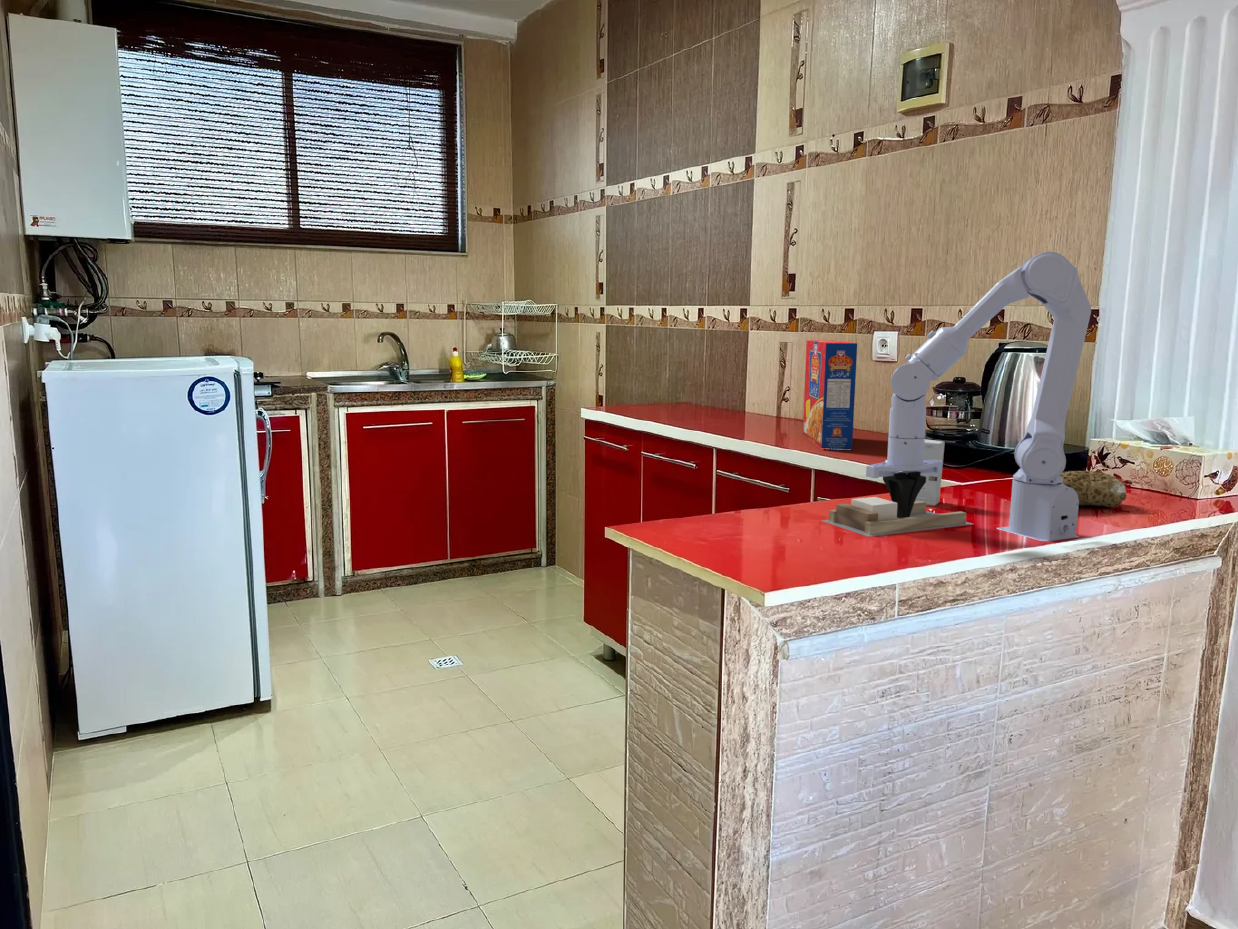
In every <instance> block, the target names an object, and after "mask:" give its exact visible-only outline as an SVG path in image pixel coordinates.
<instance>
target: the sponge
mask: <svg viewBox="0 0 1238 929" xmlns="http://www.w3.org/2000/svg"><path fill="white" fill-rule="evenodd" d="M1060 476H1061V477H1062V478H1063V484H1064V485H1065V486H1067V487H1070V488H1072V489H1074V490H1075V491H1076V492H1077V495H1078V498H1079V506H1095V507H1106V508H1113V507H1115V506H1116V507H1118V506H1120V505H1122V504H1123V501H1125V500H1126V499H1127V490H1126V485H1125V484H1124V483H1122V481H1121V480H1119V479H1118V478H1117V476H1115V475H1111V474H1108V473H1106V472H1099V471H1091V470H1073V471H1072V470H1069V471H1063V472H1062V474H1061V475H1060Z"/></svg>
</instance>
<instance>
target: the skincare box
mask: <svg viewBox="0 0 1238 929" xmlns="http://www.w3.org/2000/svg"><path fill="white" fill-rule="evenodd" d="M945 443H946V442H945V441H943V440H935V439H934V440H933V439H927V438H926V439H925V443H924V459H923V460H938V461H943V463H944V453H945ZM943 463H942V467H944V466H943ZM920 475H921V476H925V477H926V483H925V484H924V486H923V487H922V488H921V490H920V492H919V493H918V495H917V497H916V500H915V502H917V501H923V502H927V503H926V506H937V505H938V504H939V503H940V500H941V499H940V496H941V487H942V486H941V485H942V476H943V471H942V472H941V473H936V472H931V473H921V474H920Z"/></svg>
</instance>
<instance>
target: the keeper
mask: <svg viewBox="0 0 1238 929" xmlns="http://www.w3.org/2000/svg"><path fill="white" fill-rule="evenodd" d="M850 501H851V502H850V505H853V506H856V507H859V508H863V509H866V510H869V511H873V512H876V513H878V520H888V519H897V504H898V503H896V502H892V500H888V499H884V498H882V497H878V496H871V497H861V498H851V500H850Z"/></svg>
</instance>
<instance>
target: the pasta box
mask: <svg viewBox="0 0 1238 929" xmlns="http://www.w3.org/2000/svg"><path fill="white" fill-rule="evenodd" d="M805 346H806V348H805V371H804V372H805V373H804V391H803V392H804V394H803V395H804V396H803V414H802V416H803V420H802V436H803V435H804V436H805V437H807V438H808V439H810V440H812V441H813V442H814V443H815V444H817V445H818V446H819V447H820V448H830V449H831V448H832V449H833V448H834V449H852V450H853V438H854V421H855V420H854V417H855V416H854V415H855V396H856V395H855V394H856V376H857V374H856V373H857V358H858V355H857V354H858V343H857V342H849V341H841V340H814V339H811V340H810V339H807V340H806V344H805Z"/></svg>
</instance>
